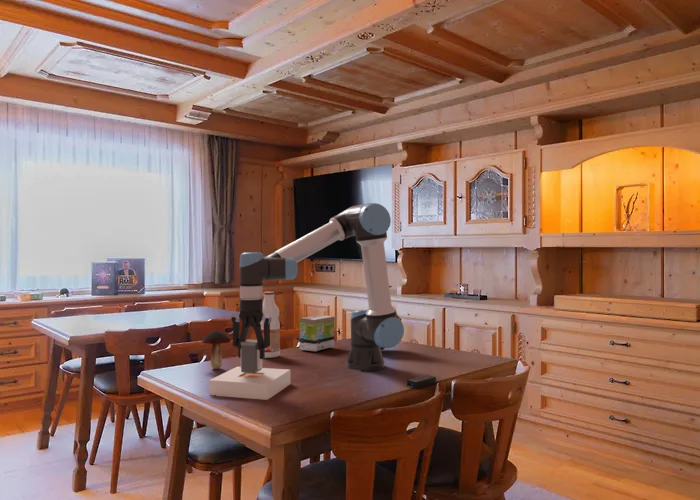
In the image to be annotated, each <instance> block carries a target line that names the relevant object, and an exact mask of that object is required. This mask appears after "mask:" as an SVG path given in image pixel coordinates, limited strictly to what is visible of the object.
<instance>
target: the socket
mask: <svg viewBox="0 0 700 500" xmlns="http://www.w3.org/2000/svg"><path fill="white" fill-rule="evenodd" d="M245 374H247V373H244V372H241V366H236V367H234V368H231V369H229V370H227V371H226V372H223V373H221V374H219V375H217V376H215V377H213V378H211V379H209V381H208V382H209V383H208V384H209V389H208V391H209V392H208V393H209V394H208V395H209V396H214V395H216V396H217V397H228V398H240V399H241V398H242V399H252V400H262V401H264V400H266V401H268V400H269V399H271V398H273V396H275V395H277V394H278V393H280V392H281V391H283V390H284V389H286V388H287V387H288V386H290V385H291V369H287V368H285V369H284V368H269V367H262V370H260V371H258V372H257V373H248V374H263V375H261V376H259V377H257V378H251V377H241V376H243V375H245Z"/></svg>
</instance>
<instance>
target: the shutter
mask: <svg viewBox="0 0 700 500" xmlns="http://www.w3.org/2000/svg"><path fill="white" fill-rule="evenodd" d="M261 375H263V374H248V373H247V374H245V375H243V376H241V377H251V378H257V377H259V376H261Z"/></svg>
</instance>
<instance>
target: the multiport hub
mask: <svg viewBox="0 0 700 500" xmlns="http://www.w3.org/2000/svg"><path fill="white" fill-rule="evenodd" d="M436 384H437V377H436V376H434V375H430V374H425V375H421V376H417V377H413V378H410V379H407V380H406V387H408V388H411V389H415V390H417V389H421V388H422V389H423V388H425V387H428V386H433V385H436Z"/></svg>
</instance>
